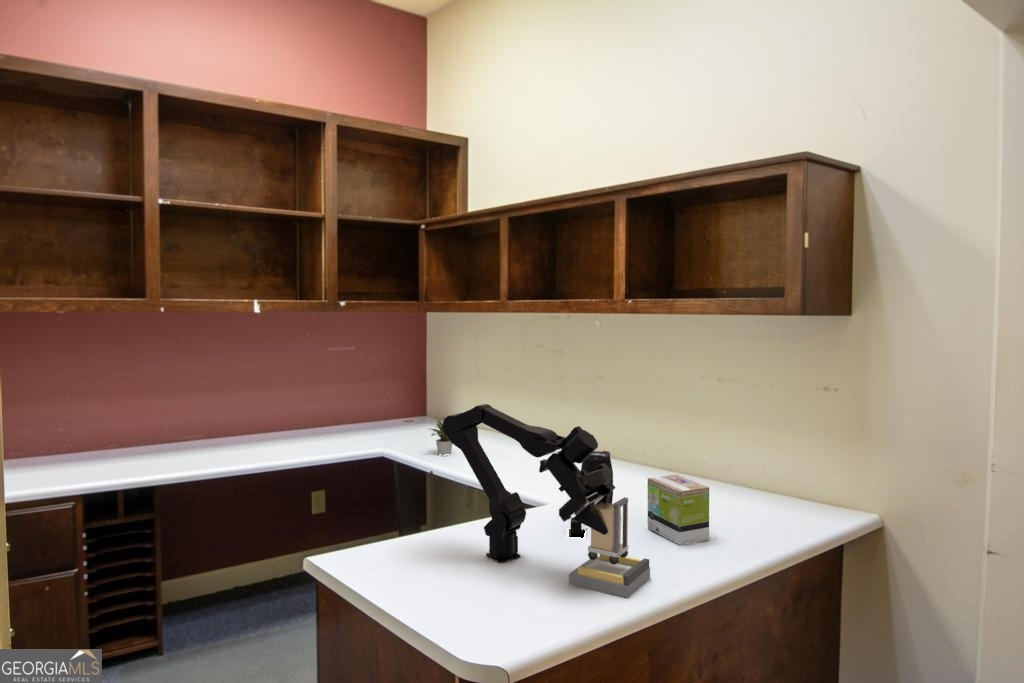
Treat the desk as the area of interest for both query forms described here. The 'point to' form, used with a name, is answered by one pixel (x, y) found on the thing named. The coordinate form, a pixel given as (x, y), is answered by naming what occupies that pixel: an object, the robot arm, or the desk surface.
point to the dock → (611, 575)
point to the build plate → (576, 529)
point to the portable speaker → (595, 460)
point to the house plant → (442, 440)
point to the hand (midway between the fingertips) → (611, 530)
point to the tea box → (678, 509)
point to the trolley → (610, 532)
